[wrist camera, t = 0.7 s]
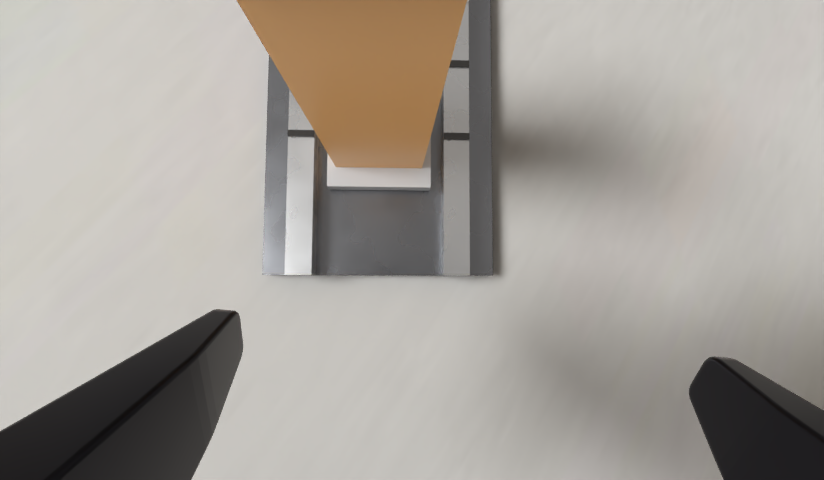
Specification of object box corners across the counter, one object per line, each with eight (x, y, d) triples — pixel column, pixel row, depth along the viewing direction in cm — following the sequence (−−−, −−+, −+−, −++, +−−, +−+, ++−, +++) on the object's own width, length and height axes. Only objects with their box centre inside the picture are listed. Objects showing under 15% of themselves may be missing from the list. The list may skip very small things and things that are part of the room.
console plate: (488, 275, 20) (506, 276, 17) (267, 274, 20) (243, 275, 17) (485, -98, 22) (501, -162, 18) (278, -107, 21) (258, -173, 18)
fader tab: (429, 190, 20) (508, 9, 6) (329, 189, 19) (168, -1, 6) (429, 94, 20) (505, -293, 6) (331, 92, 20) (183, -312, 6)
